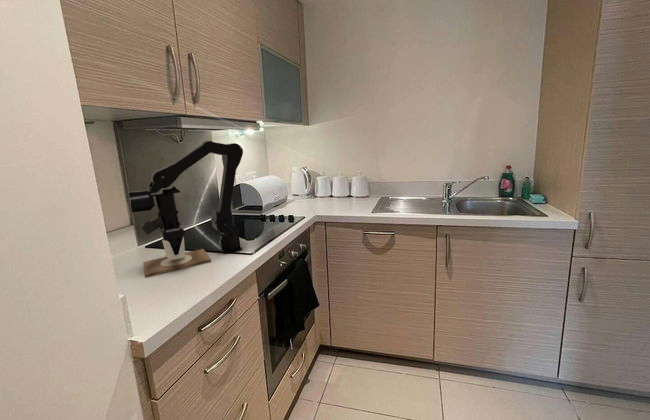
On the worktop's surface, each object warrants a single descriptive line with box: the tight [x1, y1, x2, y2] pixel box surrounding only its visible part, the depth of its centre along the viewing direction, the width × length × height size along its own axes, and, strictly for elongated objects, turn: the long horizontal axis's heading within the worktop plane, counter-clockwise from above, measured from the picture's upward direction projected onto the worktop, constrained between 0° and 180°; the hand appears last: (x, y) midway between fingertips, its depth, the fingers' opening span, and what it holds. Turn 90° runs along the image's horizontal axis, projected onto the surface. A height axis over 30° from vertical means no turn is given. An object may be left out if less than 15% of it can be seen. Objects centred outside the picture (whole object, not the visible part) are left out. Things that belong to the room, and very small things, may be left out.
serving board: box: [142, 248, 212, 279], centre depth 112 cm, size 20×14×1 cm
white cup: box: [161, 236, 186, 260], centre depth 111 cm, size 7×7×7 cm
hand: (175, 252), depth 111 cm, fingers closed on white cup, 6 cm apart
